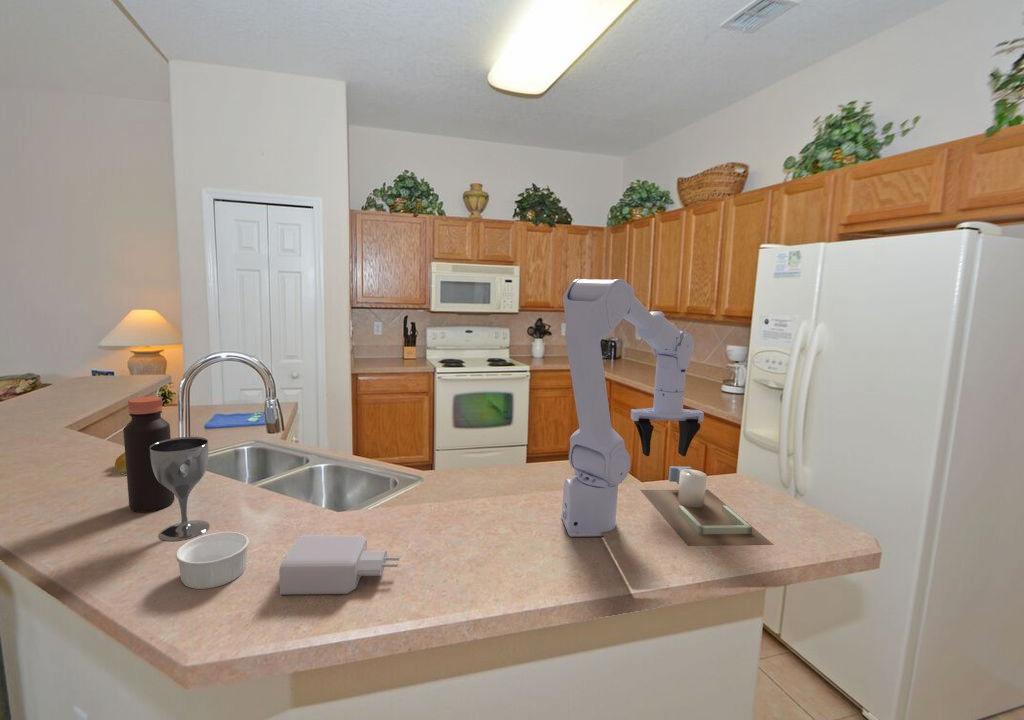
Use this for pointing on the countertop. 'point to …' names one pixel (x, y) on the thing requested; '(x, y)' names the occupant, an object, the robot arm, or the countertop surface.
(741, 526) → the cradle
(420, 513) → the countertop surface
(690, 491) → the white blue t-bar grip
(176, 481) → the wine glass
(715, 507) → the board
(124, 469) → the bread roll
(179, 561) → the ramekin
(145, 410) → the bottle
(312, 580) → the charger
